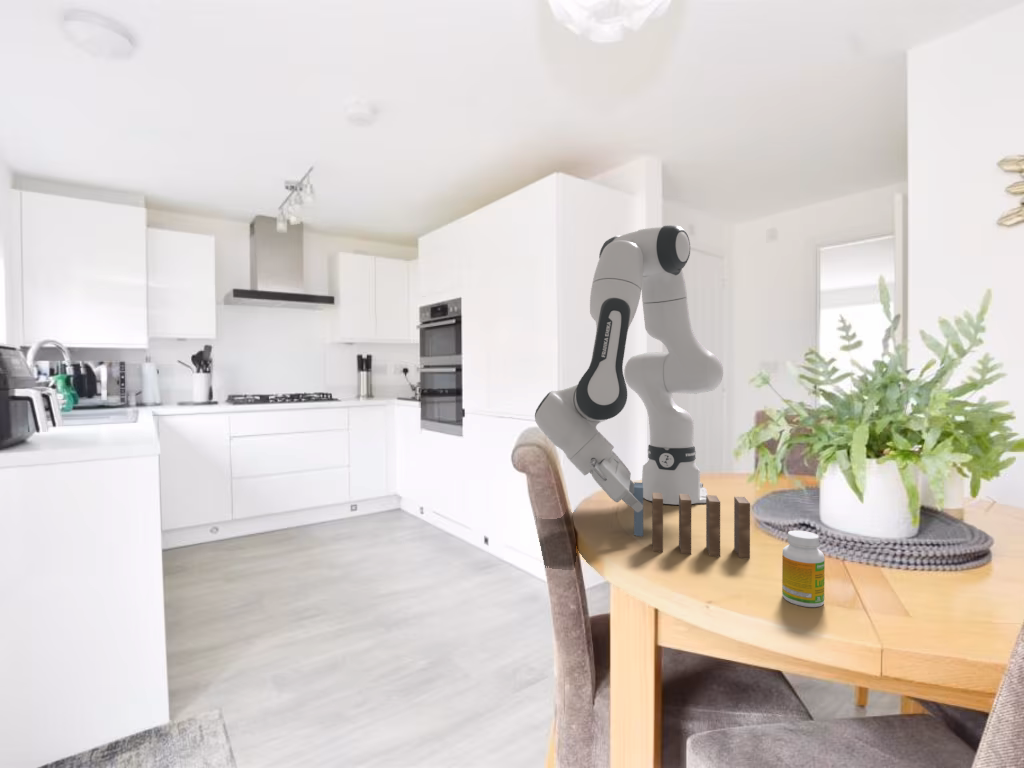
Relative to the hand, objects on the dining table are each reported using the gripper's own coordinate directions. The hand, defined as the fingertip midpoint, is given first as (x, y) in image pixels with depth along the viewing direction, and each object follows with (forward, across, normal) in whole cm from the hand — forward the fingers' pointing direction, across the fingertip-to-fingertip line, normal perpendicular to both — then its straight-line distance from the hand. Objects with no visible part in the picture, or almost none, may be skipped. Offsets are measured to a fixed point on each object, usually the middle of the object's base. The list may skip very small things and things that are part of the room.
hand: (640, 503), depth 109 cm
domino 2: (+6, -9, +2) cm, 11 cm away
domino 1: (+4, 0, +5) cm, 6 cm away
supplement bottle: (+21, -28, -12) cm, 37 cm away
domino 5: (+17, -9, -8) cm, 21 cm away
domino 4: (+14, -9, -5) cm, 17 cm away
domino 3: (+10, -9, -1) cm, 14 cm away
